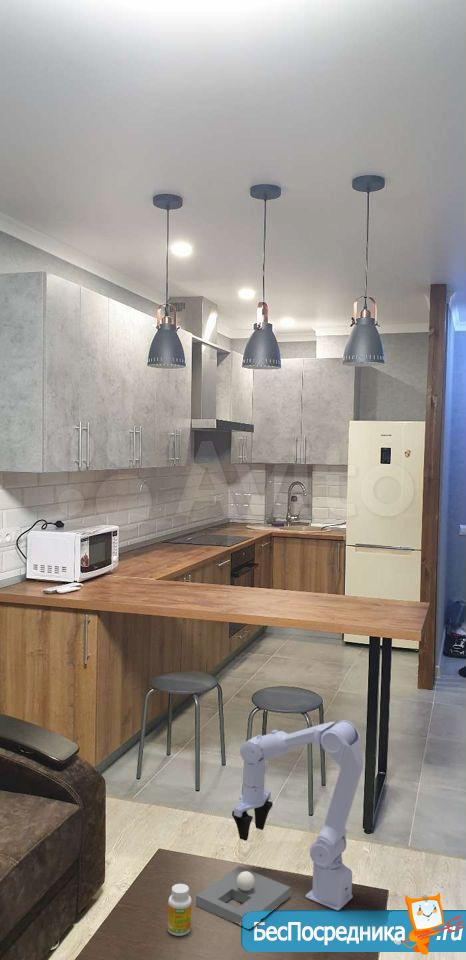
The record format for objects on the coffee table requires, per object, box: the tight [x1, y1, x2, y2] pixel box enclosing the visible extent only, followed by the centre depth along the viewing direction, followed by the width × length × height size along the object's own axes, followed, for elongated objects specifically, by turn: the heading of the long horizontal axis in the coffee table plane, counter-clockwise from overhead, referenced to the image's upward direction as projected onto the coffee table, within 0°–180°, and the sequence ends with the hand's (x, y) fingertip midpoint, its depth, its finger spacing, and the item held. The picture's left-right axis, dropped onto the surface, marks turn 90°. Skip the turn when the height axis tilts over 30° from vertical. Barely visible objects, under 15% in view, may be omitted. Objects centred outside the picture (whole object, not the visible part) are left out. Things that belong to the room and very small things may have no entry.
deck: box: [195, 866, 291, 923], centre depth 192 cm, size 16×18×2 cm
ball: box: [237, 871, 255, 891], centre depth 193 cm, size 4×4×4 cm
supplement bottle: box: [167, 883, 192, 937], centre depth 180 cm, size 5×5×10 cm
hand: (251, 833), depth 207 cm, fingers open, 7 cm apart
